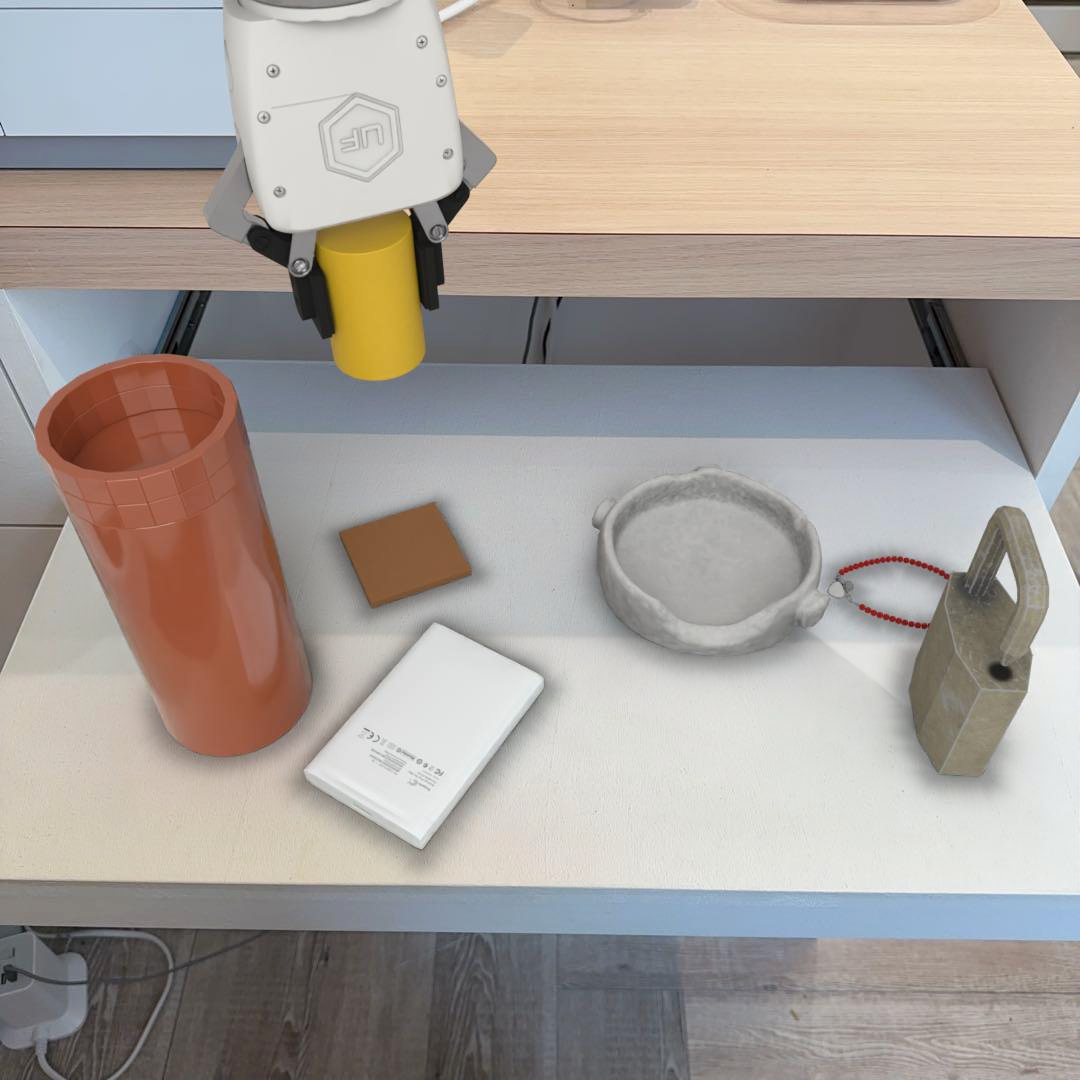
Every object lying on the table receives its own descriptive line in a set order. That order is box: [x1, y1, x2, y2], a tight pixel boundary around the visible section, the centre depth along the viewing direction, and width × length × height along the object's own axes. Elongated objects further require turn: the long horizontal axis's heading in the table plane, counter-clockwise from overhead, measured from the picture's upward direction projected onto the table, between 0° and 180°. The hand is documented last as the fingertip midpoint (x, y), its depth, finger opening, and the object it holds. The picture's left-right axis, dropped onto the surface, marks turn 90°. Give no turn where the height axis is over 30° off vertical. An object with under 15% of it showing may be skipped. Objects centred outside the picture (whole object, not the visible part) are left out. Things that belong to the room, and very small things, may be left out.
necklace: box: [827, 555, 950, 630], centre depth 70 cm, size 9×6×1 cm
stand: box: [33, 353, 313, 757], centre depth 57 cm, size 9×9×22 cm
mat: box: [338, 502, 472, 609], centre depth 73 cm, size 7×7×1 cm
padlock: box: [908, 505, 1050, 778], centre depth 59 cm, size 4×8×15 cm, turn 176°
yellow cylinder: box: [314, 210, 426, 382], centre depth 58 cm, size 5×5×8 cm
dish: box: [591, 463, 831, 657], centre depth 69 cm, size 14×14×5 cm
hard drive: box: [303, 622, 545, 850], centre depth 63 cm, size 2×8×12 cm
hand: (373, 307), depth 59 cm, fingers closed on yellow cylinder, 5 cm apart
